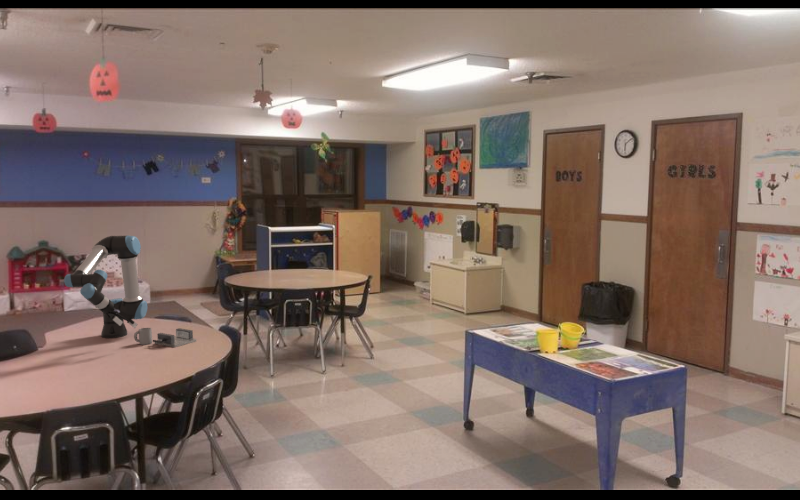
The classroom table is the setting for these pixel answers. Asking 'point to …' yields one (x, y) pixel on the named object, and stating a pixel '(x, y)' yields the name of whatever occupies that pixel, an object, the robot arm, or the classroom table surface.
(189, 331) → the vise
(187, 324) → the classroom table surface
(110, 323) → the robot arm
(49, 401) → the classroom table surface
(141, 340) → the cup
